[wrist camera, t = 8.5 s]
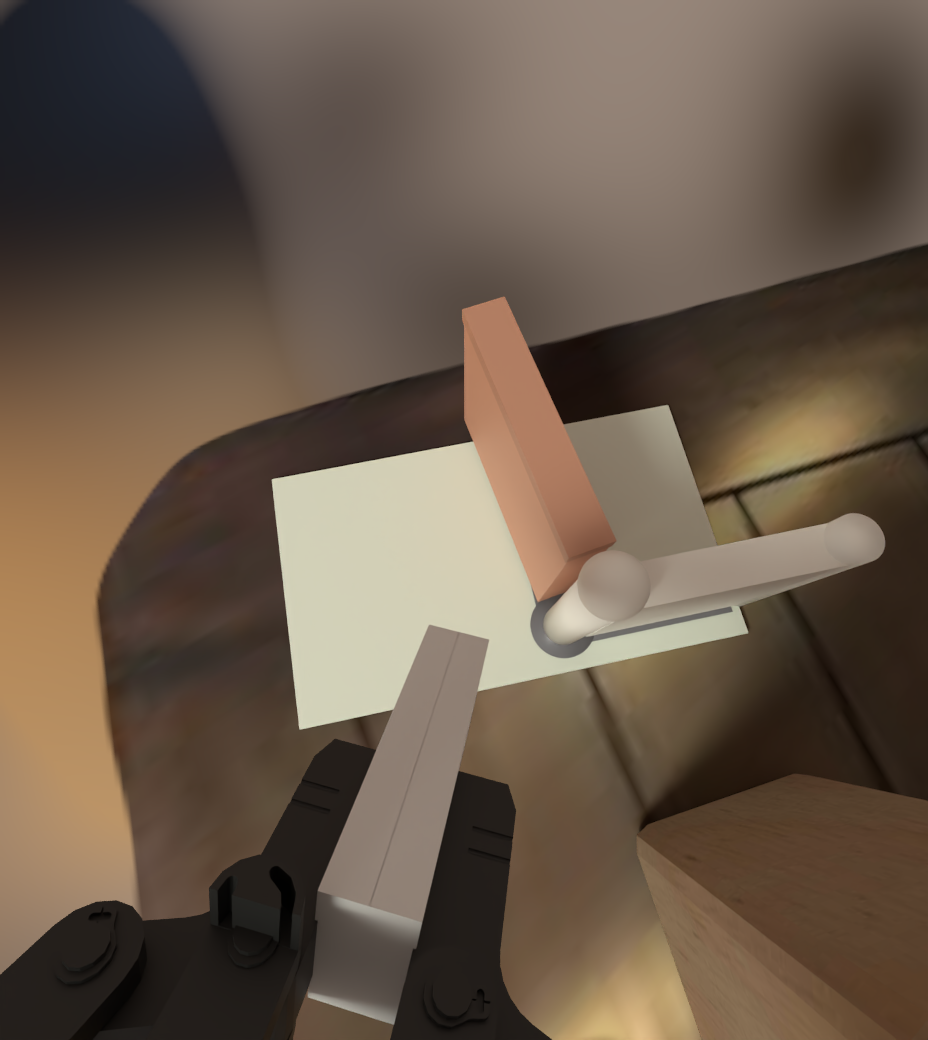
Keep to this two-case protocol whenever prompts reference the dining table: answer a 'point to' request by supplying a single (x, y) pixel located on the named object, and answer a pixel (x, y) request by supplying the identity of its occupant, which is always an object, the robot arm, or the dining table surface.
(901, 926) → the wooden block
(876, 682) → the dining table surface
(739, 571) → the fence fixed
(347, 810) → the robot arm
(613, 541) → the terracotta rectangular slab
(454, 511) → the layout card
